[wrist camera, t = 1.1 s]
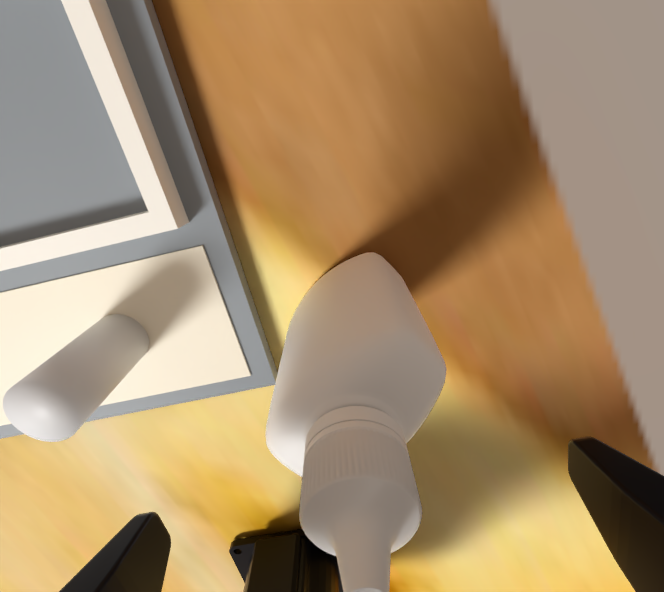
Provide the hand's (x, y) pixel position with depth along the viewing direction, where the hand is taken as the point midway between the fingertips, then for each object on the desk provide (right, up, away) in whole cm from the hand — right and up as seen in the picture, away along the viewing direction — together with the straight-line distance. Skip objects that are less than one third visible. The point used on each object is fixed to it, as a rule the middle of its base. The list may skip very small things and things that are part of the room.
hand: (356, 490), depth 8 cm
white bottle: (0, +4, +9) cm, 10 cm away
